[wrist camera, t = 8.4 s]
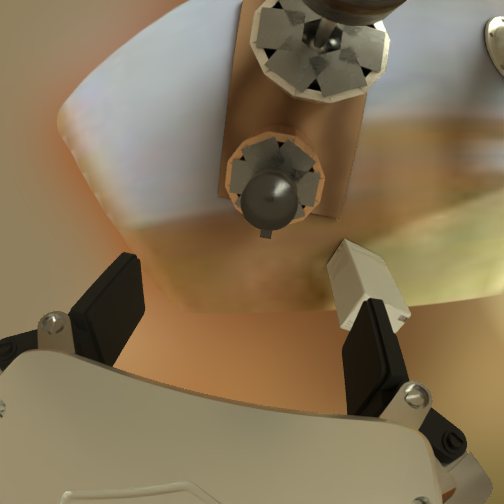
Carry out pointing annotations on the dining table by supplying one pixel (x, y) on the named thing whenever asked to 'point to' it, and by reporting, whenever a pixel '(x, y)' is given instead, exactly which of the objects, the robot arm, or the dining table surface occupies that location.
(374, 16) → the steel plunger
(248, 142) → the copper press
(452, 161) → the dining table surface
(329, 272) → the skincare box
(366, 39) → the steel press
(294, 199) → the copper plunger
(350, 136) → the walnut board
